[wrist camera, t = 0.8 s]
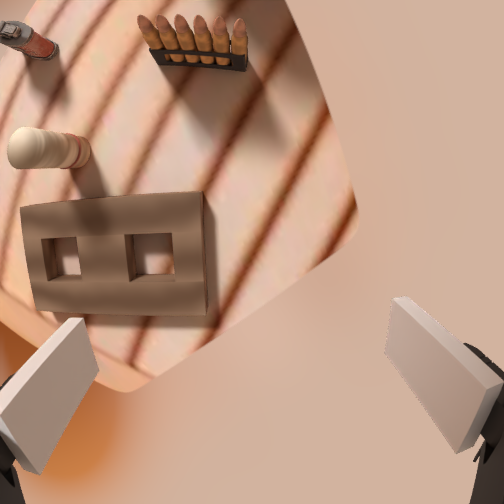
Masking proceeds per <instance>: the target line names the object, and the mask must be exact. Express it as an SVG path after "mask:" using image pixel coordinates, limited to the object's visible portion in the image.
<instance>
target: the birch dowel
mask: <svg viewBox="0 0 504 504" xmlns="http://www.w3.org/2000/svg"><path fill="white" fill-rule="evenodd" d="M90 153H91V148H90V144H89V142H88V141H87V140H86V139H85V138H83V137H79V136H75V135H73V134H68V133H66V134H64V133H59V132H53V131H48V130H42V129H36V128H30V127H21V128H19V129H17V130H16V131H15V132H14V133H13V135H12V136H11V138H10V140H9V143H8V148H7V155H8V160H9V162H10V164H11V165H12V166H13V167H14V168H16V169H40V168H60V169H68V168H79V167H82V166H83V165H85V164H86V162H87V161H88V159H89V157H90Z"/></svg>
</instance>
